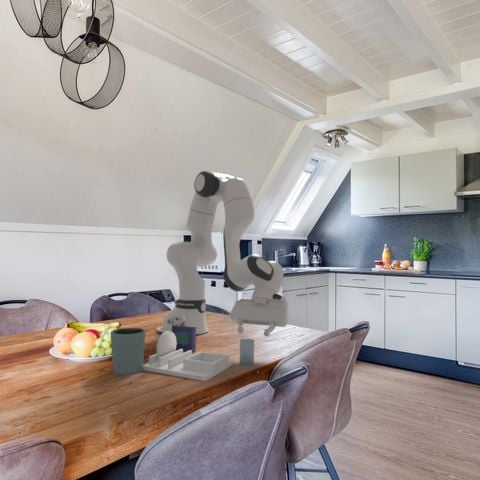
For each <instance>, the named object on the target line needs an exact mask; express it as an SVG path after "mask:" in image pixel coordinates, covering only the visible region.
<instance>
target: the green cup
mask: <svg viewBox="0 0 480 480" xmlns="http://www.w3.org/2000/svg"><path fill="white" fill-rule="evenodd" d="M145 341H146V329H145V328H142V327H122V328H116V329H113V330H111V331H110V343H111V345H110V346H111V355H112V356H111V357H112V359H111V360H112V372H113V373H114V374H116V375H118V376H119V375H122V376H128V375H136V374H138V373H141V372H143V371H144V370H143V365H144V358H145V357H144V356H145V353H144V352H145V345H146V344H145V343H146V342H145Z"/></svg>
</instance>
